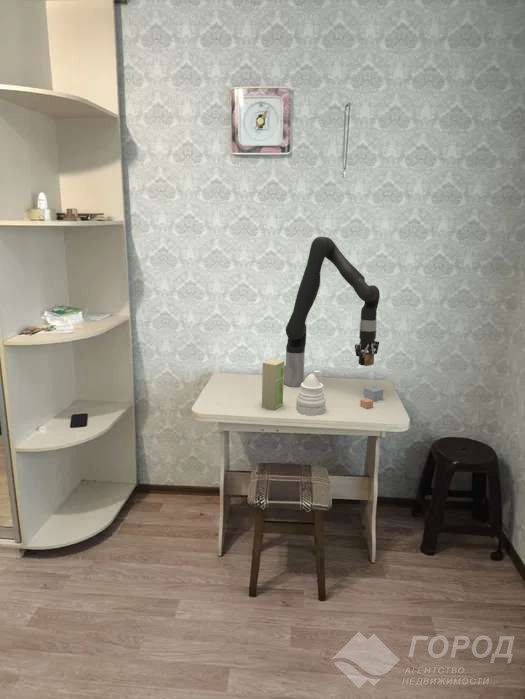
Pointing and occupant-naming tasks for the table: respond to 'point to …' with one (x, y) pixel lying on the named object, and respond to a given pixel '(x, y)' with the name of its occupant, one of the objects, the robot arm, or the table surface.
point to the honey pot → (311, 396)
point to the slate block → (373, 393)
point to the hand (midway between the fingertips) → (366, 364)
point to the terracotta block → (366, 403)
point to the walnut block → (368, 359)
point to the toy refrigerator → (272, 384)
